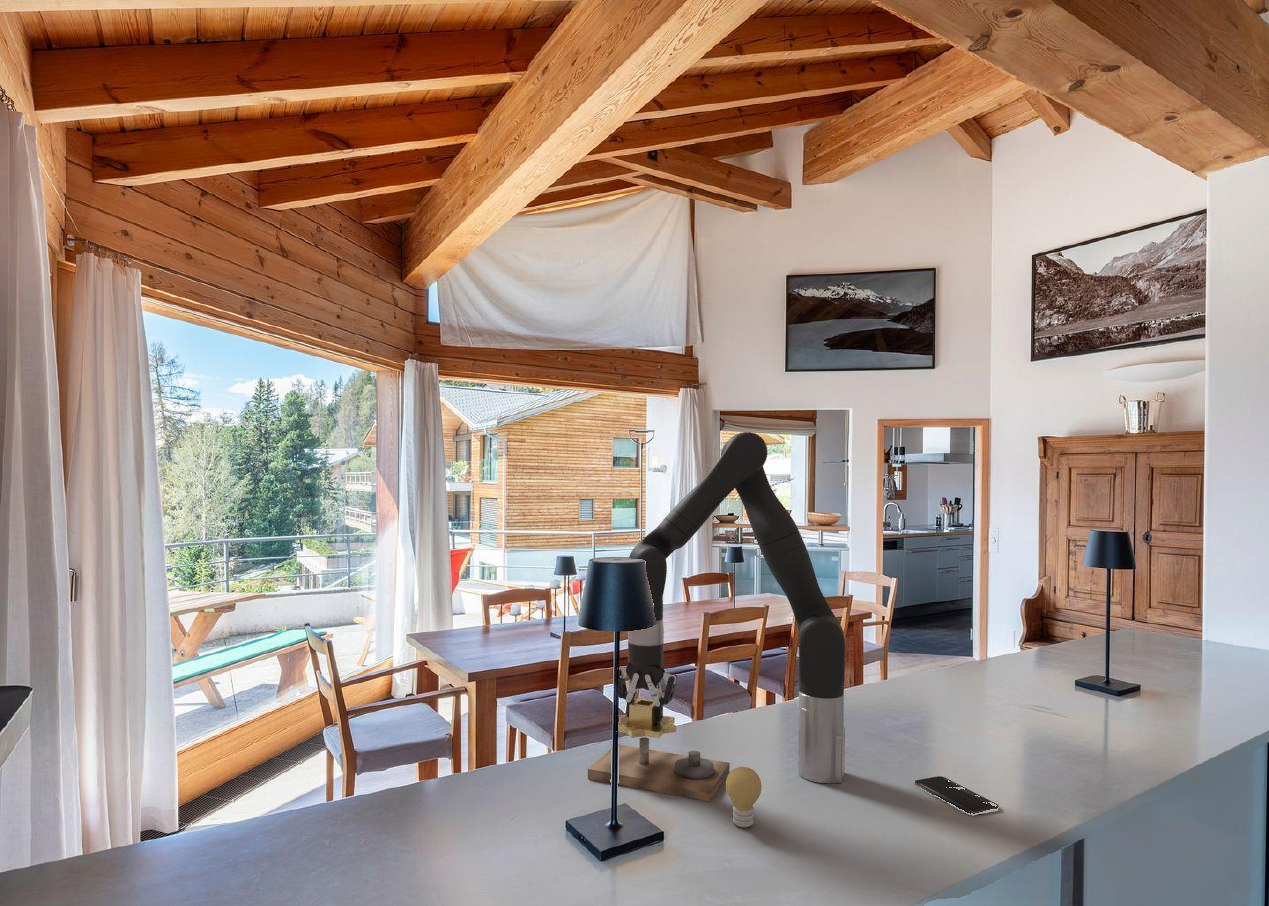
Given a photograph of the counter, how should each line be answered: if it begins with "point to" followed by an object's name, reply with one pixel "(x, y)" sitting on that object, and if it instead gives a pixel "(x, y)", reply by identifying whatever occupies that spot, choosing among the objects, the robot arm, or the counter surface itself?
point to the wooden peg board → (663, 771)
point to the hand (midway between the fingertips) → (644, 720)
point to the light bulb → (743, 794)
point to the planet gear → (644, 721)
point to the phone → (955, 794)
